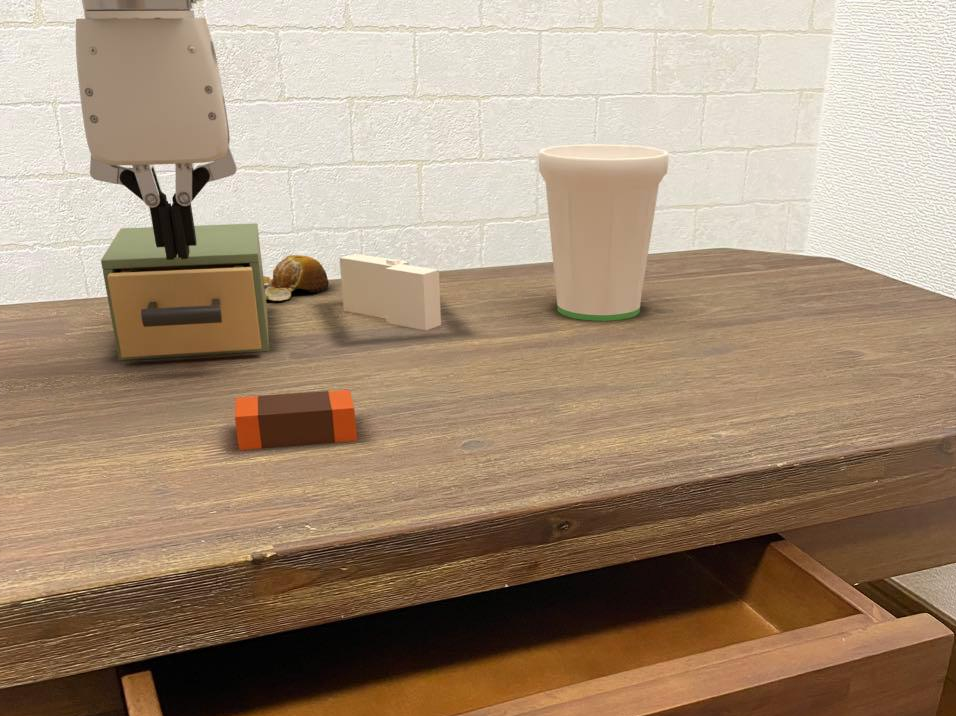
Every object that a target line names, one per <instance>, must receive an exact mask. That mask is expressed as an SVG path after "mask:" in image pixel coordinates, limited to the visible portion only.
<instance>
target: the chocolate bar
mask: <svg viewBox="0 0 956 716" xmlns="http://www.w3.org/2000/svg"><path fill="white" fill-rule="evenodd" d="M234 404H235V405H234V422H235V430H236V437H237V444H238V445H237V446H238V450H239V451H245V450H247V451H248V450H260V449H273V448H285V447H287V448H289V447H299V446H311V445H322V444H323V445H324V444H336V443H344V442H346V443H347V442H357V441H358V437H357V424H356V423H357V422H356V411H355V406H354V402H353V398H352V393H351V390H350V389H344V390H343V389H341V390H322V391H308V392H293V393H279V394H267V395H265V394H263V395H256V396H244V397H243V396H242V397H241V396H240V397H235V403H234Z"/></svg>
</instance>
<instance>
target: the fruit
mask: <svg viewBox="0 0 956 716" xmlns="http://www.w3.org/2000/svg"><path fill="white" fill-rule="evenodd" d="M263 278H264V285H265V284H266V285H267V284H268V285H269V286H268V287H265V295H266V300H269V301H271V302H277V301H278V302H281V301H287V300H289V299H291V297H292V292H294V291H295V290H297V289H301V290H306V291H308V292H309V293H312V294H315V293H316V294H321V293H324V292H325V291H326V290H327V289H328V288H329V284H330V282H329V278H328V275H327V272H326V270H325V269H324V267H323V265H322V264H321V263H320V262H319V261H318V260H317V259H315V258H313V257H311V256H308V255H300V254H299V255H298V254H290V255H287V256H286V257H285V258H283V259H282V260H281V261H279V262H278V263H277V264H276V266H275V267H274V269H273V271H272V279H271V278H270V276H265V275H263Z"/></svg>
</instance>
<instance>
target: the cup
mask: <svg viewBox="0 0 956 716" xmlns="http://www.w3.org/2000/svg"><path fill="white" fill-rule="evenodd" d="M669 157H670V154H669V151H668V150H665V149H661V148H657V147H650V146H644V145H643V146H642V145H633V144H632V145H631V144H630V145H629V144H613V143H611V144H608V143H607V144H605V143H586V144H583V143H582V144H566V145H555V146H548V147H544V148H541V149H540V151H539V152H538V172H539V173H540V175H541V177H542V179H543V180H544V182H545V192H546V202H547V209H548V210H547V213H548V222H549V232H550V233H549V234H550V243H551V244H550V245H551V255H552V263H553V275H554V285H555V293H556V294H555V296H556V306H557V312H558V313H559V314H561V315H562V316H565V317H568V318H572V319H574V320H582V321H590V322H591V321H594V322H611V321H622V320H626V319H631V318H634V317H636V316H638V315H639V314H640V312H641V300H642V294H643V288H644V282H645V275H646V269H647V264H648V263H647V262H648V257H649V252H650V251H649V250H650V245H651V244H650V243H651V237H652V231H653V225H654V224H653V223H654V218H655V212H656V206H657V205H656V204H657V199H658V193H659V186H660V183H661V182H662V181H663V179H664V177H665V176H666V175H667V174H668V167H669Z"/></svg>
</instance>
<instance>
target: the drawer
mask: <svg viewBox="0 0 956 716" xmlns="http://www.w3.org/2000/svg"><path fill="white" fill-rule="evenodd" d="M107 279H108V284H109V290H110V295H111V301H112V306H113V312H114V317H115V323H116V328H117V334H118V339H119V345H120V350H121V356H122V357H139V356H155V355H172V354H188V353H204V352H220V351H237V350H253V349H261V340H260V332H259V323H258V315H257V306H256V298H255V289H254V281H253V272H252V267H248V266H247V263H237V264H215V265H192V266H169V267H146V268H124V269H122V270H121V272H120V273H109V274H108V276H107Z"/></svg>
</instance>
